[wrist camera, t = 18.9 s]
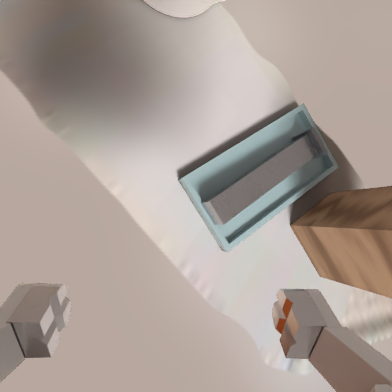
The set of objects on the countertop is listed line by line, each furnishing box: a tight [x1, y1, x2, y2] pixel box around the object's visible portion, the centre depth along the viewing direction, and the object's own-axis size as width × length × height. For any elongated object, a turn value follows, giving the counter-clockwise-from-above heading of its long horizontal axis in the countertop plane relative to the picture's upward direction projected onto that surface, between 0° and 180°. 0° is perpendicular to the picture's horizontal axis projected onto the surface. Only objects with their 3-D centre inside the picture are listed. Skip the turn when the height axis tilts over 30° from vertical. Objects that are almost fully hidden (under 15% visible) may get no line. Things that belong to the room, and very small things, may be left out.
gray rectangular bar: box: [201, 127, 328, 225], centre depth 35 cm, size 20×4×4 cm, turn 123°
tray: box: [179, 104, 339, 252], centre depth 38 cm, size 24×12×2 cm, turn 123°
